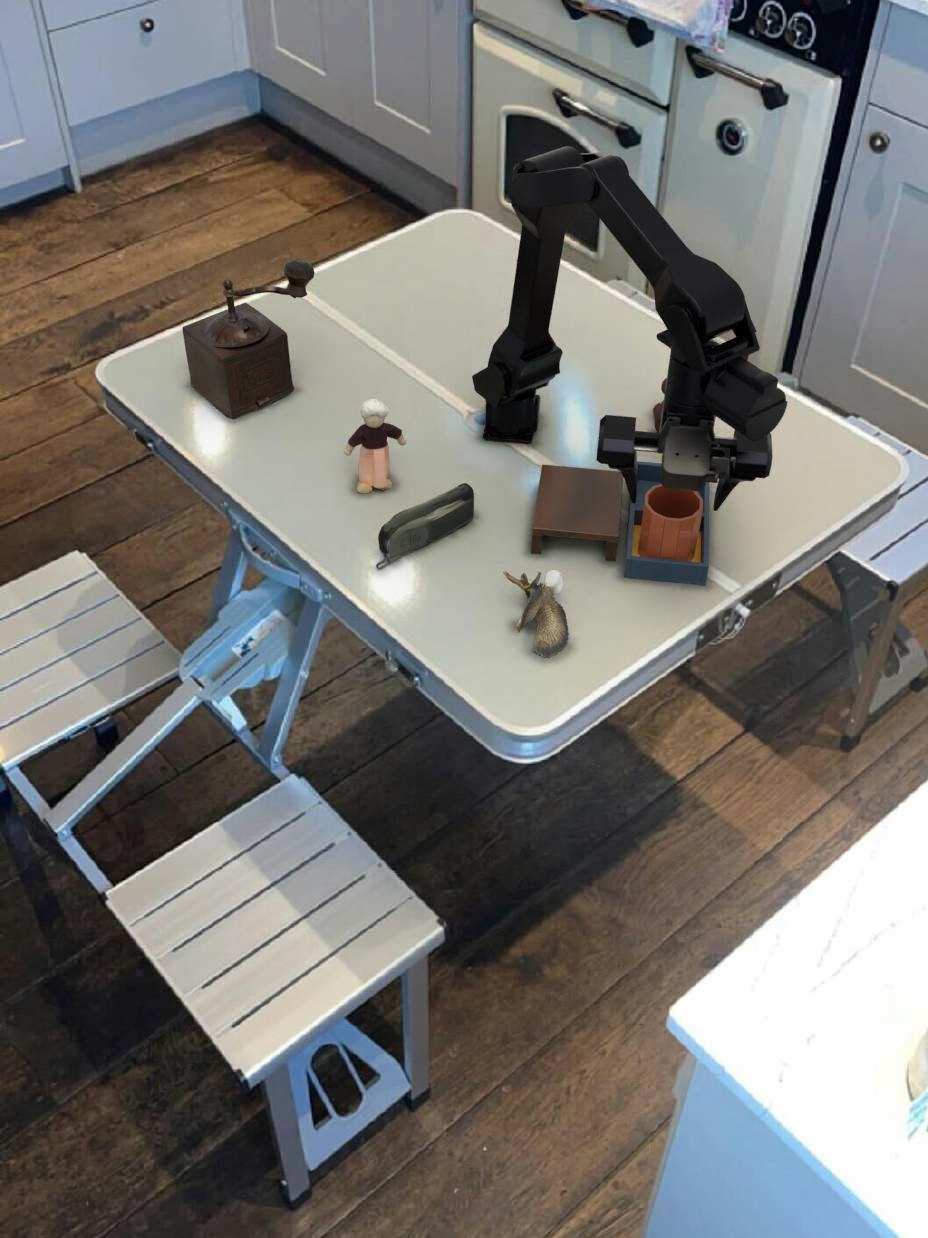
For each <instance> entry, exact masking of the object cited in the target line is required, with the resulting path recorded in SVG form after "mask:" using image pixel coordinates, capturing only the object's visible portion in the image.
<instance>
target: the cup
mask: <svg viewBox="0 0 928 1238" xmlns="http://www.w3.org/2000/svg"><path fill="white" fill-rule="evenodd" d="M702 512H703V499H702V497H701V496H700V495H699V494H698V493H697V491H692V490H689V489H678V488H674V489H668V488H665V487H664V486H662V484H660V485H656V486H654V487H652V488H651V489H650V490H649V491H648V492H647V493H646V494H645V498H644V505H643V512H642V520H641V527H640V534H639V541H638V553H639V555H640V556H641V557H648V558H658V559H668V560H679V561H689V562H691V561H692V560H693V558H694V556H695V550H696V545H697V539H698V534H699V528H700V523H701V517H702Z"/></svg>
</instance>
